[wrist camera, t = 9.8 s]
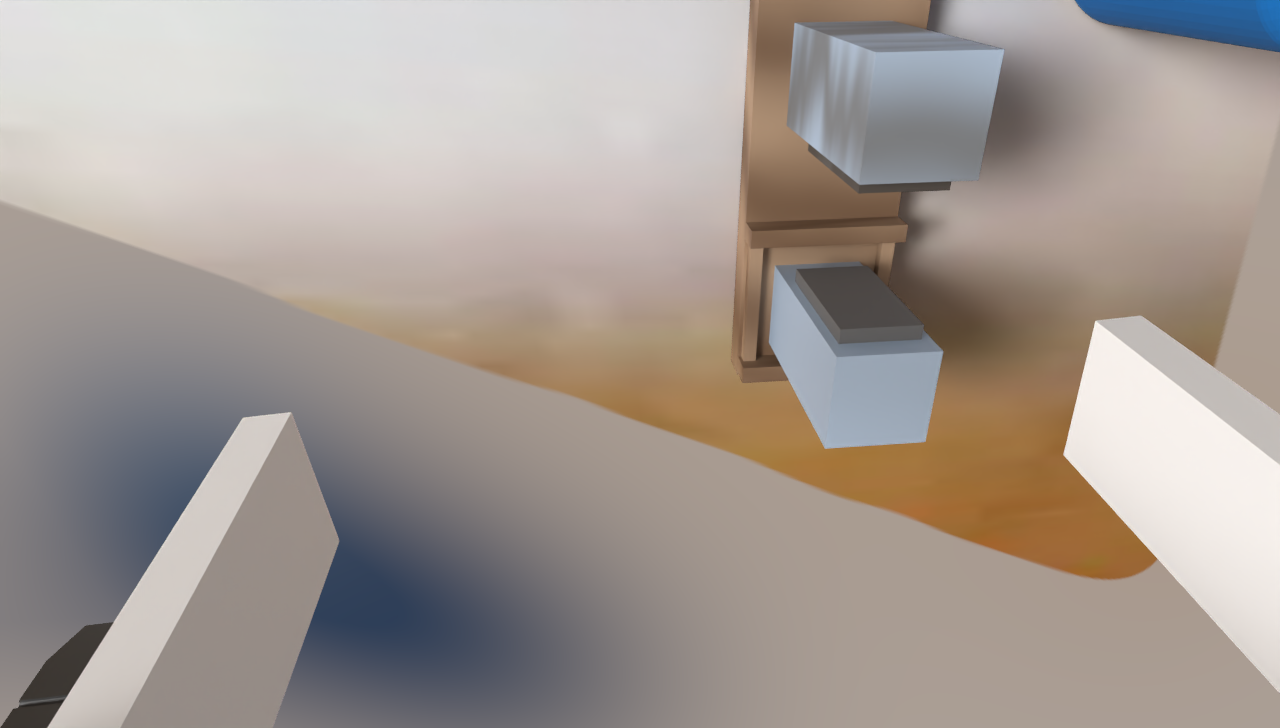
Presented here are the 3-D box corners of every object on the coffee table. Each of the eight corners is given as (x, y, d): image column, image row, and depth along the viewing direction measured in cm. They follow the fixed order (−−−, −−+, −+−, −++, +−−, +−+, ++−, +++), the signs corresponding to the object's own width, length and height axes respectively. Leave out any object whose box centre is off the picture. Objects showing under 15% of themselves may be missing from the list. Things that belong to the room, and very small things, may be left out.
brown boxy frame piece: (752, -35, 31) (834, -22, 22) (920, -37, 32) (1068, -26, 23) (731, 359, 40) (784, 486, 31) (864, 352, 41) (954, 474, 32)
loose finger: (848, 338, 38) (925, 441, 31) (768, 342, 38) (825, 448, 30) (860, 249, 36) (946, 336, 28) (775, 253, 36) (838, 342, 28)
